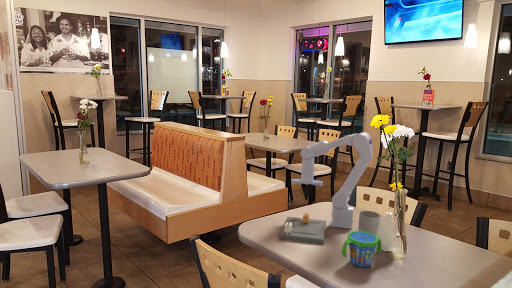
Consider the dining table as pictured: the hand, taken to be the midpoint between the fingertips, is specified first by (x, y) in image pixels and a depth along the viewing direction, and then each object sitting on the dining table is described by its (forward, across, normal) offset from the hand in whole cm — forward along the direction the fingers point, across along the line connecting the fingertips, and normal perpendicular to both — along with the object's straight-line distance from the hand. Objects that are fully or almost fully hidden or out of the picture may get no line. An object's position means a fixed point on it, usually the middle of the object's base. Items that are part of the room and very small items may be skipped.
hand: (306, 199), depth 171 cm
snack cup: (+10, +24, -39) cm, 47 cm away
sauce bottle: (+10, +34, -26) cm, 44 cm away
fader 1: (+7, -5, -23) cm, 25 cm away
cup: (+10, +28, -14) cm, 33 cm away
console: (+9, +1, -16) cm, 19 cm away
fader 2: (+7, +1, -10) cm, 12 cm away
